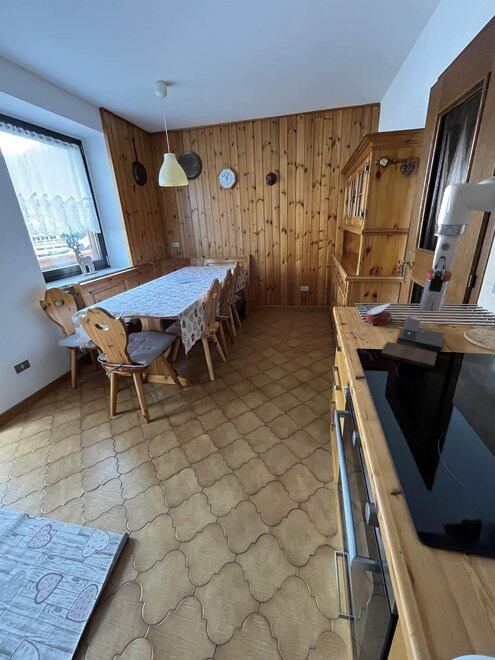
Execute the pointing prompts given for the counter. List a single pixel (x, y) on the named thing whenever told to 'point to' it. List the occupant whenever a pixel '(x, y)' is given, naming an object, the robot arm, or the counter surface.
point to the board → (409, 355)
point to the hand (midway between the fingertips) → (435, 287)
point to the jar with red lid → (434, 293)
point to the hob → (421, 339)
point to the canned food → (378, 315)
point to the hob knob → (412, 323)
